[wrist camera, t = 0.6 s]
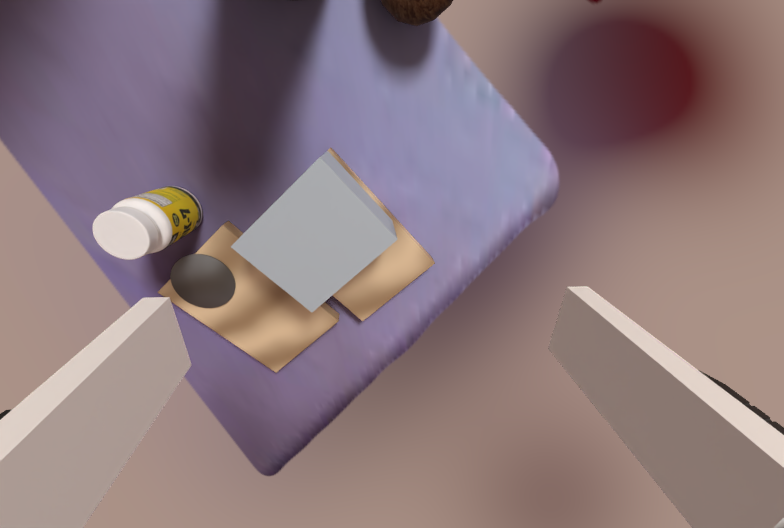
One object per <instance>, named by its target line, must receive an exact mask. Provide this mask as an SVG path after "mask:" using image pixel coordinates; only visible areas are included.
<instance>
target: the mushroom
mask: <svg viewBox="0 0 784 528" xmlns="http://www.w3.org/2000/svg"><path fill="white" fill-rule="evenodd" d="M452 1H453V0H381V2H382V5H383V6H384V7H385V8H386V9H387V10H388V12H389V13H390V14H391V15H392V16H393V17H394V18H395V19H396V20H397V21H399V22H403V23H407V24H411V25H414V26H418V25H421V24H424V23H427V22H430V21H433V20H434V19H436V18H437V17H438V16H439V15H440V14H441V13H442V12H443V11H444V10H446V9H447V8H448V7H449V6H450V5H451V3H452Z"/></svg>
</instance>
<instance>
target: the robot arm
mask: <svg viewBox="0 0 784 528" xmlns="http://www.w3.org/2000/svg"><path fill="white" fill-rule="evenodd" d="M548 349H549V350H550V352H551V353H552V354H553V355H554V357H555V358H556V359H557V360H558V362H559V363H560V364H561V365H562V367H563V368H564V369H565V370H566V371H567V373H568V374H569V375H570V376H571V378H572V379H573V380H574V381H575V383H576V384H577V385H578V386H579V388H580V389H581V390H582V391H583V393H584V394H585V395H586V396H587V398H588V399H589V400H590V401H591V402H592V404H593V405H594V406H595V408H596V409H597V410H598V411H599V412H600V414H601V415H602V416H603V417H604V419H605V420H606V421H607V422H608V424H609V425H610V426H611V427H612V429H613V430H614V431H615V432H616V434H617V435H618V436H619V437H620V439H621V440H622V441H623V442H624V444H625V445H626V446H627V447H628V449H629V450H630V451H631V452H632V454H633V455H634V456H635V457H636V459H637V460H638V461H639V462H640V463H641V465H642V466H643V467H644V468H645V470H646V471H647V472H648V473H649V475H650V476H651V477H652V478H653V479H654V481H655V482H656V483H657V485H658V486H659V487H660V488H661V490H662V491H663V492H664V493H665V495H666V496H667V497H668V498H669V500H670V501H671V502H672V503H673V504H674V506H675V507H676V508H677V509H678V511H679V512H680V513H681V514H682V516H683V517H684V518H685V519H686V521H687V522H688V523H689V524H690V526H691V527H692V528H784V428H783V427H782V426H781V425H779V424H778V423H777V422H772V421H771V420H770V417H769V416H767V415H765V413H763V412H762V411H760V410H759V409H757V408H756V407H755V406H751V405H750V404H749V402H748V401H747V400H746V399H744V398H743V397H742V396H740V395H739V394H737V393H736V392H735V391H733V390H732V389H731V388H729V387H728V386H727V385H725V384H723V383H722V382H719V381H718V380H716V379H714V378H712V377H710V376H708V375H707V374H705V373H702V372H701V371H699V370H697V369H696V368H694V367H693V366H692V365H691V364H689V363H688V362H687V361H685V360H684V359H683V358H681V357H680V356H679V355H677V354H676V353H675V352H673V351H672V350H670V349H669V348H668V347H667V346H665V345H664V344H663V343H661V342H660V341H659V340H657V339H656V338H655V337H653V336H652V335H651V334H650V333H648V332H647V331H646V330H644V329H643V328H642V327H640V326H639V325H638V324H636V323H635V322H634V321H632V320H631V319H630V318H628V317H627V316H626V315H624V314H623V313H622V312H621V311H619V310H618V309H617V308H615V307H614V306H613V305H611V304H610V303H609V302H607V301H606V300H605V299H603V298H602V297H601V296H599V295H598V294H597V293H595V292H594V291H593V290H591V289H590V288H589V287H588V286H582V287H567V289H566V292H565V295H564V298H563V301H562V305H561V308H560V312H559V315H558V318H557V321H556V325H555V328H554V331H553V334H552V338H551V341H550V344H549V348H548ZM190 366H191V362H190V359H189V356H188V353H187V350H186V346H185V343H184V340H183V337H182V334H181V331H180V328H179V325H178V322H177V319H176V316H175V313H174V310H173V306H172V303H171V300H170V297H156V298H142V299H141V300H140V301H139V302H138V303H136V304H135V305H134V306H133V307H132V308H131V309H129V310H128V311H127V312H126V313H125V314H124V315H122V316H121V317H120V318H119V319H118V320H117V321H115V322H114V323H113V324H112V325H111V326H110V327H108V328H107V329H106V330H105V331H104V332H103V333H101V334H100V335H99V336H98V337H97V338H95V339H94V340H93V341H92V342H91V343H90V344H88V345H87V346H86V347H85V348H84V349H83V350H81V351H80V352H79V353H78V354H77V355H76V356H74V357H73V358H72V359H71V360H70V361H69V362H68V363H66V364H65V365H64V366H63V367H62V368H60V369H59V370H58V371H57V372H56V373H55V374H53V375H52V376H51V377H50V378H49V379H48V380H46V381H45V382H44V383H43V384H42V385H41V386H39V387H38V388H37V389H36V390H35V391H33V392H32V393H31V394H30V395H29V396H28V397H27V398H25V399H24V400H23V401H22V402H21V403H19V404H18V405H17V406H16V407H15V408H14V409H12V410H6V411H4V412H3V413H1V414H0V528H83V527H84V526H85V524H86V523H87V521H88V520H89V518H90V517H91V515H92V514H93V512H94V511H95V509H96V508H97V506H98V505H99V503H100V502H101V500H102V498H103V497H104V495H105V494H106V493H107V491H108V490H109V488H110V486H111V485H112V484H113V482H114V481H115V479H116V478H117V476H118V475H119V473H120V472H121V470H122V469H123V467H124V465H125V464H126V462H127V461H128V460H129V458H130V456H131V455H132V454H133V452H134V451H135V449H136V447H137V446H138V445H139V443H140V441H141V440H142V438H143V437H144V435H145V434H146V432H147V431H148V429H149V428H150V427H151V425H152V424H153V422H154V420H155V419H156V418H157V416H158V414H159V413H160V411H161V410H162V408H163V407H164V405H165V404H166V402H167V401H168V399H169V398H170V396H171V395H172V393H173V392H174V390H175V389H176V387H177V386H178V384H179V383H180V381H181V380H182V378H183V377H184V375H185V374H186V372H187V371H188V369H189V368H190Z"/></svg>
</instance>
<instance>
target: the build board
mask: <svg viewBox="0 0 784 528" xmlns="http://www.w3.org/2000/svg"><path fill="white" fill-rule="evenodd" d="M242 235H243V233H242V232H241V231H240V230H239V229H238V228H236V227H235V226H234V225H233V224H232V223H230V222H229V221H228V222H226V223H225V224H224V225H222V226H221V227H220V228H219V229H218V230H217V231H216V232H215V234H214V235H213V236H212V237H211V238H210V239H209V240H208V241H207V242H206V243H205V244H204V245H203V246H202V247H201V248H200V249H199V250H198V251H197V252H196V253H195V254H191V255H187V256H184V257H182V258H181V259H179V260H178V261H177V262H176V263H175V264H174V265H173V267H172V270H171V274H170V280H169V281H168V282H167V283H166V284H165V285H164V286H163V287H162V288H161V289H160V290H159V291H158V293H159V294H161V295H162V296H164V297H170V300H171V302H173V303H174V304H175V305H177V306H178V307H180V308H181V309H183V310H184V311H186V312H187V313H189V314H190V315H192V316H193V317H195V318H196V319H198V320H199V321H201V322H202V323H204V324H205V325H206V326H208V327H209V328H211V329H212V330H214V331H215V332H217V333H218V334H220V335H221V336H223V337H224V338H226V339H227V340H229V341H230V342H232V343H233V344H234V345H236V346H237V347H239V348H240V349H242V350H243V351H245V352H246V353H248V354H249V355H251V356H252V357H254V358H255V359H257V360H258V361H260V362H261V363H263V364H264V365H265V366H267V367H268V368H270V369H271V370H273V371H274V372H277V371H279V370H280V369H281V368H282V367H283V366H285V365H286V364H287V363H288V362H290V361H291V360H292V359H293V358H294V357H296V356H297V355H298V354H299V353H300V352H302V351H303V350H304V349H305V348H307V347H308V346H309V345H310V344H311V343H313V342H314V341H315V340H316V339H317V338H319V337H320V336H321V335H322V334H324V333H325V332H326V331H327V330H328V329H330V328H331V327H332V326H333V325H334V324H336V323H337V322H338V321H339V313H337V312H336V311H335V310H334V309H333V308H332V307H330V306H329V305H328V304H327V303H326V302H324V303H323V304H322V305H320V306H319V307H318V308H317V309H316V310H315V311H313V312H310V311H309V310H308V309H307V308H305V307H304V306H303V305H302V304H301V303H299V302H298V301H297V300H296V299H294V298H293V297H292V296H291V295H289V294H288V293H287V292H286V291H284V290H283V289H282V288H281V287H279V286H278V285H277V284H276V283H275V282H273V281H272V280H271V279H270V278H268V277H267V276H266V275H265V274H263V273H262V272H261V271H260V270H258V269H257V268H256V267H255V266H253V265H252V264H251V263H250V262H249V261H247V260H246V259H245V258H244V257H242V256H241V255H240V254H239V253H237V252H236V251H235V250H234V249H232V248H231V246H232V245H233V244H234V243H235V242H236V241H237V240H238V239H239V238H240V237H241V236H242Z"/></svg>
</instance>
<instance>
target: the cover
mask: <svg viewBox="0 0 784 528" xmlns="http://www.w3.org/2000/svg"><path fill="white" fill-rule="evenodd" d="M396 240H398V239H397V235H396V232H395V228H394V225H393V221H392V220H391V218H390V217H389V216H388V215H387V214H386V213H385V212H384V211H383V210H382V209H381V208H380V207H379V205H378V204H377V203H376V202H375V201H374V200H373V199H372V198H371V197H370V196H369V195H368V194H367V192H366V191H365V190H364V189H363V188H362V187H361V186H360V185H359V184H358V183H357V182H356V181H355V179H354V178H353V177H352V176H351V175H350V174H349V173H348V172H347V171H346V170H345V169H344V168H343V167H342V165H341V164H340V163H339V162H338V161H337V160H336V159H335V158H334V157H333V156H332V155H331V154H330V152H329V151H327V152H325V153H324V154H323V155H322V156H321V157H320V158H319V159H318V160H317V161H316V162H315V163H314V164H313V165H312V166H311V167H310V168H309V169H308V170H307V171H306V172H305V173H304V174H303V175H302V176H301V177H300V178H299V179H298V180H297V181H296V182H295V183H294V184H293V185H292V186H291V187H290V188H289V189H288V190H287V191H286V192H285V193H284V194H283V195H282V196H281V197H280V198H279V199H278V200H277V201H276V202H275V203H274V204H273V205H272V206H271V207H270V208H269V209H268V210H267V211H266V212H265V213H264V214H263V215H262V216H261V217H260V218H259V219H258V220H257V221H256V222H255V223H254V224H253V225H252V226H251V227H250V228H249V229H248V230H247V231H246V232H245V233H244V234H243V235H242V236H241V237H240V238H239V239H238V240H237V241H236V242H235V243H234V244H233V245H232V246H231V248H232V249H234V250H235V251H236V252H237V253H239V254H240V255H241V256H242V257H244V258H245V259H246V260H247V261H249V262H250V263H251V264H252V265H253V266H255V267H256V268H257V269H258V270H260V271H261V272H262V273H263V274H265V275H266V276H267V277H268V278H270V279H271V280H272V281H273V282H275V283H276V284H277V285H278V286H279V287H281V288H282V289H283V290H284V291H286V292H287V293H288V294H289V295H291V296H292V297H293V298H294V299H296V300H297V301H298V302H299V303H301V304H302V305H303V306H304V307H305V308H307V309H308V310H309V311H310V312H313V311H315V310H316V309H317V308H318V307H319V306H320V305H322V304H323V303H324V302H325V301H326V300H327V299H329V298H330V297H331V296H332V295H333V294H334V293H336V292H337V291H338V290H339V289H340V288H341V287H343V286H344V285H345V284H346V283H347V282H348V281H350V280H351V279H352V278H353V277H354V276H355V275H357V274H358V273H359V272H360V271H361V270H363V269H364V268H365V267H366V266H367V265H368V264H370V263H371V262H372V261H373V260H374V259H375V258H377V257H378V256H379V255H380V254H381V253H382V252H384V251H385V250H386V249H387V248H388V247H389V246H391V245H392V244H393V243H394V242H395V241H396Z"/></svg>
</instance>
